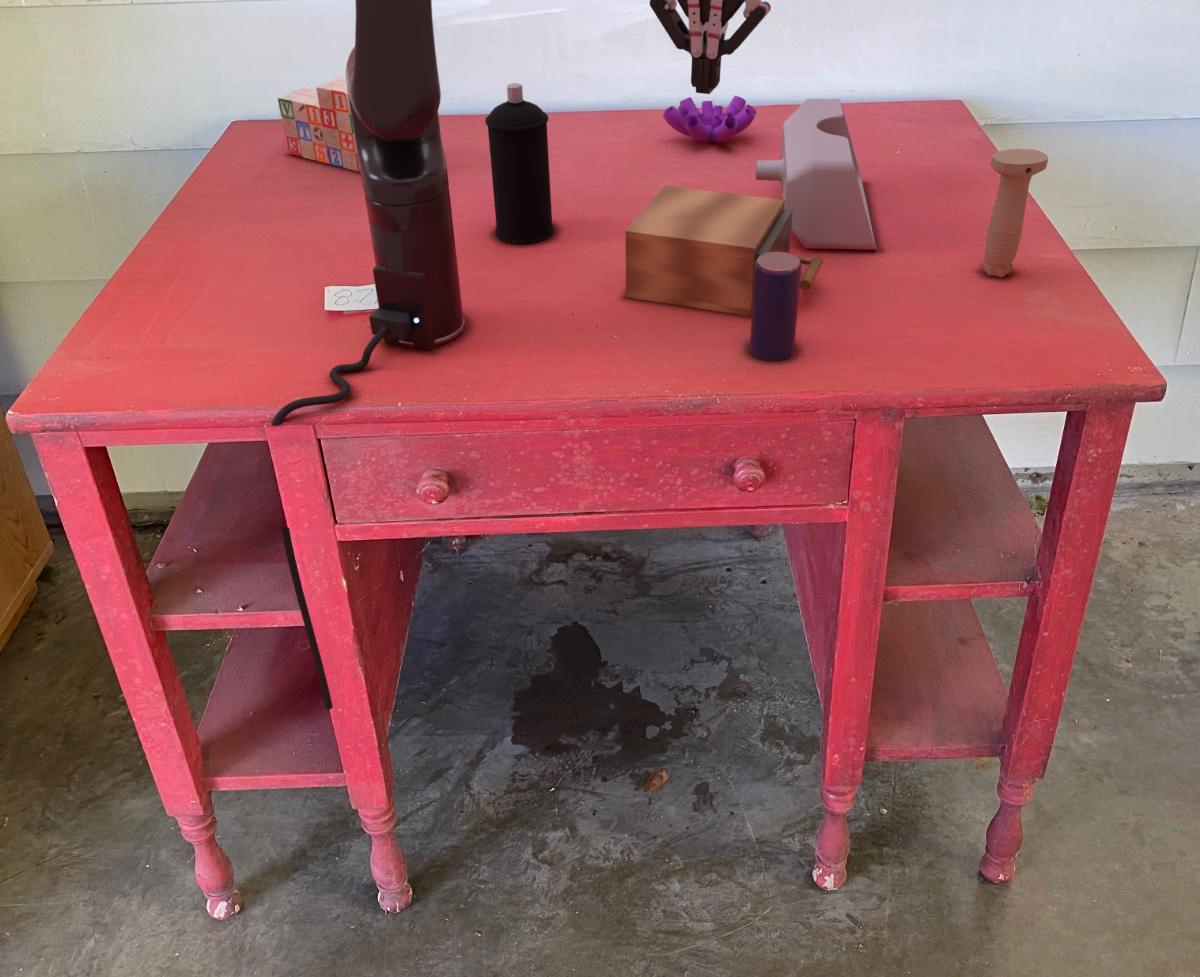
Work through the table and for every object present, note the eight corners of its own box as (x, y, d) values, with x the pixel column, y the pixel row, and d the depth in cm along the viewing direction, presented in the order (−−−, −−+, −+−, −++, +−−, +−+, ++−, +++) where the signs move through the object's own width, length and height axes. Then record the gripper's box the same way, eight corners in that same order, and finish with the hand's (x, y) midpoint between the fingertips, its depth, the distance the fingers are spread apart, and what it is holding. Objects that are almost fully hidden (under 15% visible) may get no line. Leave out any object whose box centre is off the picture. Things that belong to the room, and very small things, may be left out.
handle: (1029, 278, 140) (1055, 161, 131) (981, 283, 139) (1004, 166, 130) (1010, 261, 143) (1035, 147, 134) (963, 267, 142) (985, 151, 133)
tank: (753, 179, 168) (758, 95, 160) (862, 181, 166) (872, 96, 159) (753, 251, 148) (759, 158, 140) (877, 253, 146) (889, 160, 139)
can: (788, 364, 124) (796, 273, 118) (744, 357, 126) (750, 267, 119) (798, 343, 128) (806, 254, 121) (755, 336, 130) (761, 248, 123)
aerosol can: (546, 246, 150) (537, 96, 139) (487, 243, 152) (474, 94, 140) (560, 222, 157) (553, 76, 145) (504, 218, 158) (492, 74, 146)
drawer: (826, 266, 142) (832, 214, 137) (802, 314, 131) (807, 260, 127) (679, 246, 147) (680, 196, 143) (646, 291, 137) (646, 238, 133)
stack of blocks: (287, 155, 181) (272, 77, 174) (315, 143, 185) (301, 67, 178) (387, 179, 171) (375, 98, 164) (413, 166, 176) (403, 86, 168)
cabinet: (780, 264, 144) (785, 199, 139) (750, 316, 133) (754, 248, 128) (663, 248, 149) (664, 185, 144) (626, 297, 138) (625, 230, 133)
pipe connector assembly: (754, 163, 182) (761, 128, 173) (662, 164, 182) (664, 130, 173) (752, 103, 185) (758, 66, 176) (661, 104, 186) (663, 67, 176)
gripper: (638, -85, 110) (635, 95, 120) (770, -76, 106) (755, 109, 116) (663, -97, 115) (658, 75, 125) (789, -89, 111) (773, 88, 122)
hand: (705, 91), depth 121 cm, fingers closed
